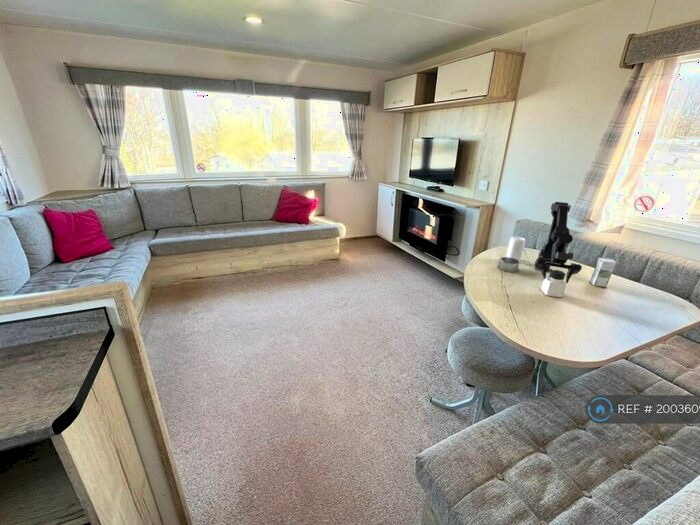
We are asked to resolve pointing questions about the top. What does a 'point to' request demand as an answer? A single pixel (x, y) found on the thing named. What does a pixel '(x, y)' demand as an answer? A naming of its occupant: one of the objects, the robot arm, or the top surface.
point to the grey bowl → (508, 264)
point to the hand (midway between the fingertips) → (555, 281)
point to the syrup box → (602, 272)
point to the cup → (516, 248)
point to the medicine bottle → (554, 284)
